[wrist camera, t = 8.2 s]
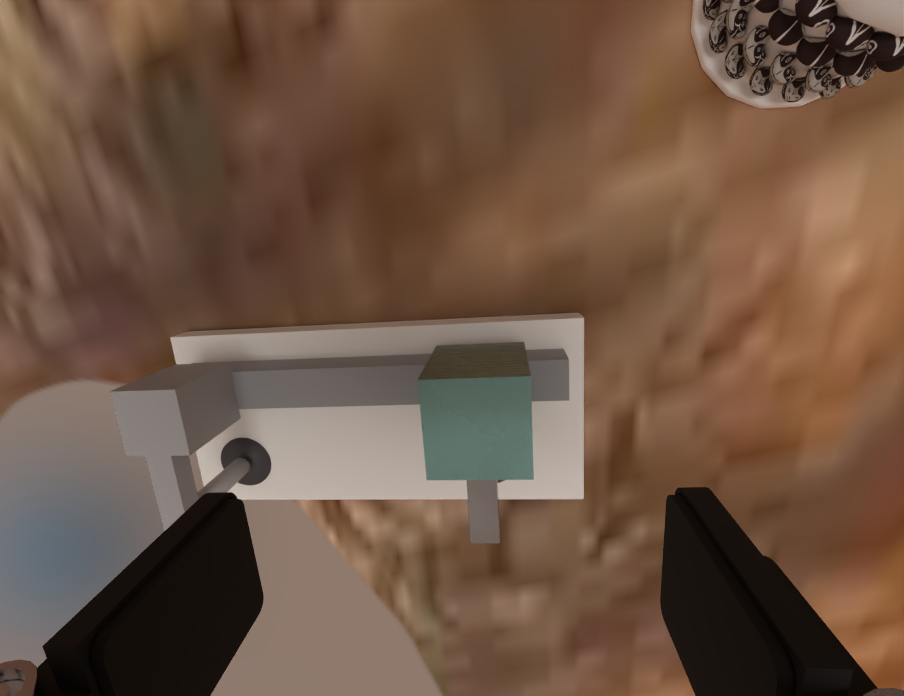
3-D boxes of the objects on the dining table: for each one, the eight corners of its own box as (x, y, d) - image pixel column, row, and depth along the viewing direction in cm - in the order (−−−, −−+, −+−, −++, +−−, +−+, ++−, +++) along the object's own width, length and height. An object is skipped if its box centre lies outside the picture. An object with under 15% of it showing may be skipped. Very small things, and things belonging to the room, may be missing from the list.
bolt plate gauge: (188, 331, 26) (70, 370, 19) (579, 312, 24) (612, 349, 17) (221, 486, 29) (128, 571, 22) (579, 484, 26) (608, 581, 19)
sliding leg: (441, 336, 23) (417, 379, 16) (522, 332, 22) (531, 376, 16) (451, 471, 25) (434, 559, 18) (526, 471, 24) (535, 560, 18)
